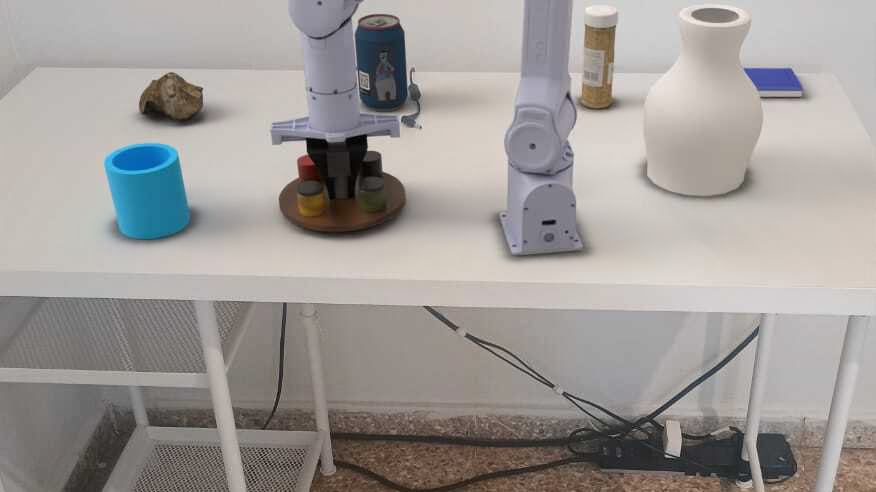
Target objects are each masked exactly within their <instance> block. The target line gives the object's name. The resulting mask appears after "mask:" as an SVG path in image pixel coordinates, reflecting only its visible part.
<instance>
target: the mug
mask: <svg viewBox="0 0 876 492" xmlns="http://www.w3.org/2000/svg"><path fill="white" fill-rule="evenodd" d="M103 166H104V170H105V174H106V179H107V183H108V187H109V190H110V194H111V199H112V202H113V207H114V211H115V216H116V219H117V220H116V221H117V224H118V227H119V230H120V231H121V233H122V234H123V235H125V236H127V237H129V238H132V239H137V240H155V239H162V238H165V237H168V236H172V235H174V234H176V233H178V232H180V231H182V230H183V229H185V228H186V227H187V226H188V225H189V223H190V222H191V213H190V208H189V202H188V198H187V193H186V188H185V183H184V178H183V173H182V166H181V162H180V157H179V151H178V150H177V149H176V148H175V147H174V146H171V145H169V144H166V143H161V142H160V143H159V142H143V143H135V144H131V145H130V144H129V145H127V146H124V147H121V148H119V149H116V150H114V151H112V152H111V153H109V154H107V156H106V158H105V159H104V164H103Z"/></svg>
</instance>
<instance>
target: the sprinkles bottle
mask: <svg viewBox="0 0 876 492" xmlns="http://www.w3.org/2000/svg"><path fill="white" fill-rule="evenodd" d="M618 21H619V9H618V8H617V7H615V6H612V5H608V4H595V5H590V6H588V7H586V8H585V9H584V15H583V23H584V41H583V49H582V50H583V51H582V68H581V97H580V103H581V104H582V105H583V106H584V107H585V108H586V107H587V108H589V109H604V108H607V107H609V106H610V105H611V104H612V102H613V97H612V94H613V93H612V92H613V81H614V68H615V44H616V43H615V42H616V29H617V24H618Z"/></svg>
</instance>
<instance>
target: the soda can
mask: <svg viewBox="0 0 876 492" xmlns="http://www.w3.org/2000/svg"><path fill="white" fill-rule="evenodd" d="M400 22H401V20H400V18H399V17H398V16H396V15H393V14H388V13H374V14H373V13H372V14H367V15H364V16H362V17H360V18H359V19H358V21H357V27H356V29H355V31H354V47H355V60H356V73H357V85H358V98H359V99H360V101H361V102H362V103H363V105H364V106H365V107H366V109H369V110H371V111H376V112H389V111H394V110H397V109H399V108H401V107H402V106H404V103H405V102H406V100H407V98H408V95H409V91H408V74H407V73H408V71H407V55H406V54H407V51H406V35H405V30H404V27H403V26H402V24H401V23H400Z"/></svg>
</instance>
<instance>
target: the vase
mask: <svg viewBox="0 0 876 492" xmlns="http://www.w3.org/2000/svg"><path fill="white" fill-rule="evenodd" d="M751 16H752V15H751V14H750V13H749V12H747V11H746V10H744V9H742V8H739V7H737V6H734V5H728V4H723V3H722V4H721V3H703V4H701V3H700V4H695V5H690V6H687V7H684V8H683V9H681V10H680V11H679V14H678V29H679V35H680V39H681V44H682V46H681V52H680V54H679V55H678V58H677V59H676V61H675V62H674V64H673V65H672V66H671V68H669V69H668V70H667V71H666V72H664V74H663V75H662V76H661V77H660V78H659V79H658V80H657V81H656V82H655V83H654V84H653V85H652V87H651V88H650V90H649V91H648V93H647V95H646V98H645V102H644V105H643V115H642V131H643V140H644V146H645V152H646V153H645V154H646V158H647V167H646V168H647V169H646V176H647V178H649V180H650V181H651V182H652V183H653V184H654V185H656V186H658V187H660V188H662V189H663V190H665V191H668V192H672V193H675V194H680V195H685V196H694V197H695V196H696V197H709V196H711V197H712V196H717V195H725V194H727V193H729V192H732V191H734V190H737V189H738V188H739V187H740V185H742V183H743V182H744V179H745V175H746V171H747V168H748V165H749V162H750V160H751V158H752V155H753V153H754V151H755V149H756V147H757V144H758V140H759V138H760V135H761V133H762V128H763V122H764V110H763V105H762V100H761V97H760V95H759V93H758V90H757V88H756V87H755V85H754V84H753V82H752V81H751V79H750V78H749V77H748V75H747V74H746V73H745V71H744V69H743V68H744V67H743V66H742V62H741V60H740V52H741V48H742V45H743V43H744V41H745V39H746V37H747V36H748V33H749V31H750V29H751V26H752V25H751V24H752V17H751Z"/></svg>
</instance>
